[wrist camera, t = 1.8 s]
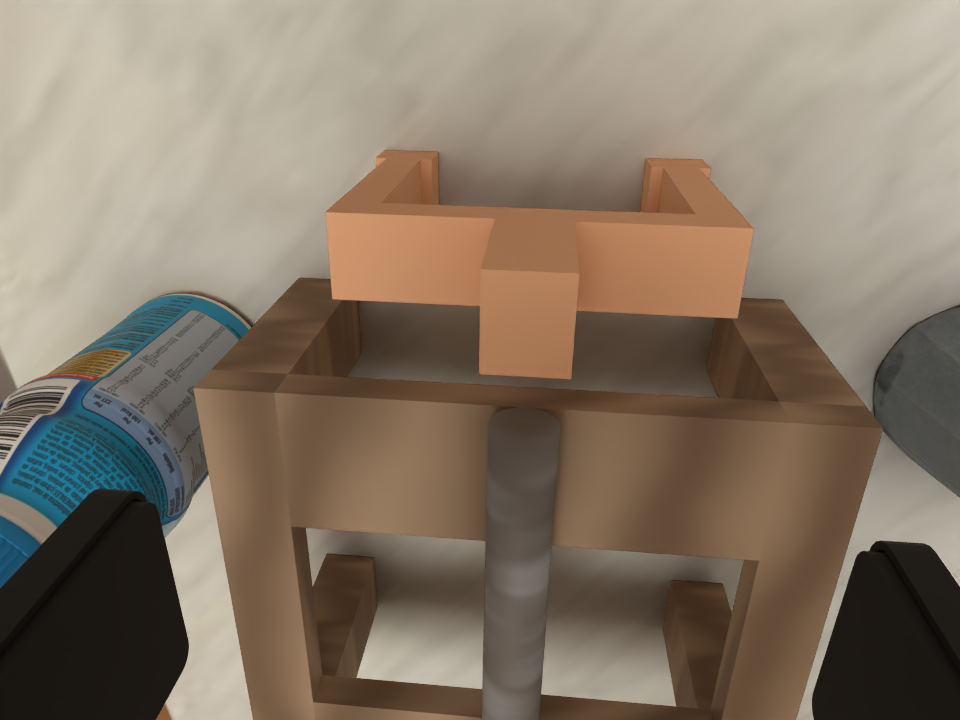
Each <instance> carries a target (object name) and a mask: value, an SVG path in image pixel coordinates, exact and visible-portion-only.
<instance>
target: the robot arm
mask: <svg viewBox="0 0 960 720" xmlns="http://www.w3.org/2000/svg"><path fill="white" fill-rule="evenodd" d="M188 650H189V643H188V637H187V633H186V629H185V624H184V620H183V616H182V611H181V607H180V603H179V598H178V594H177V590H176V585H175V581H174V577H173V573H172V568H171V564H170V560H169V555H168V551H167V547H166V542H165V538H164V534H163V529H162V525H161V521H160V516H159V512H158V509H157V507H156V505H155V504H154V503H150V502H148V501H147V499H146V496H145V495H144V494H143V493H142V492H139V491H132V490H117V489H102V488H100V489H96V490H94V491H92V492H91V493H90V494H89V495H88V496H87V497H86V498H85V499H84V500H83V501H82V502H81V503H80V504H79V505H78V506H77V507H76V508H75V509H74V510H73V512H72V513H71V514H70V515H69V516H68V517H67V518H66V519H65V520H64V521H63V522H62V523H61V524H60V525H59V526H58V527H57V529H56V530H55V531H54V532H53V533H52V534H51V535H50V536H49V537H48V538H47V539H46V540H45V541H44V542H43V543H42V545H41V546H40V547H39V548H38V549H37V550H36V551H35V552H34V553H33V554H32V555H31V556H30V557H29V558H28V559H27V561H26V562H25V563H24V564H23V565H22V566H21V567H20V568H19V569H18V570H17V571H16V572H15V573H14V574H13V575H12V576H11V578H10V579H9V580H8V581H7V582H6V583H5V584H4V585H3V586H2V587H1V588H0V720H156V718H157V716H158V715H159V713H160V711H161V709H162V707H163V706H164V704H165V702H166V700H167V698H168V697H169V695H170V693H171V691H172V689H173V687H174V686H175V684H176V682H177V680H178V678H179V677H180V675H181V673H182V671H183V669H184V667H185V664H186V661H187V657H188ZM812 711H813V717H814V720H960V587H959V585H958V584H957V582H956V581H955V579H954V578H953V576H952V575H951V574H950V572H949V571H948V569H947V568H946V566H945V565H944V564H943V562H942V561H941V559H940V558H939V556H938V555H937V553H936V552H935V551H934V550H933V549H932V548H931V547H930V546H928V545H926V544H922V543H907V542H892V541H877V542H875V543H874V544H873V545H872V547H871V549H870V551H862V552H860V553H859V554H858V555H857V557H856V559H855V562H854V566H853V569H852V572H851V575H850V578H849V581H848V585H847V588H846V591H845V594H844V597H843V600H842V603H841V607H840V610H839V613H838V616H837V619H836V622H835V625H834V629H833V632H832V635H831V638H830V641H829V644H828V648H827V651H826V654H825V657H824V660H823V663H822V666H821V670H820V673H819V676H818V679H817V682H816V685H815V689H814V692H813V697H812Z"/></svg>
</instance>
